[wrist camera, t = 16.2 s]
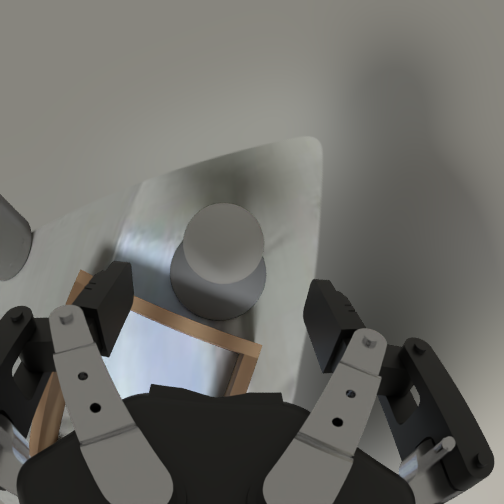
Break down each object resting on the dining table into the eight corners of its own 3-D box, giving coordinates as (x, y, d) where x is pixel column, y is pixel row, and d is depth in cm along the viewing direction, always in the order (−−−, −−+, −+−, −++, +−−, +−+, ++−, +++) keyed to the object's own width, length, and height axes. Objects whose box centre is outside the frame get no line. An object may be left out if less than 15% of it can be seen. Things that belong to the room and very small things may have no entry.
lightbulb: (234, 312, 27) (252, 286, 17) (179, 286, 27) (163, 246, 17) (257, 259, 29) (284, 208, 19) (205, 236, 29) (205, 175, 19)
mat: (155, 298, 26) (155, 297, 26) (192, 216, 30) (192, 215, 30) (248, 334, 27) (248, 333, 26) (276, 247, 30) (277, 246, 30)
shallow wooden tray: (45, 457, 17) (27, 467, 13) (97, 281, 26) (80, 269, 22) (186, 525, 17) (184, 545, 13) (254, 346, 26) (262, 345, 22)
